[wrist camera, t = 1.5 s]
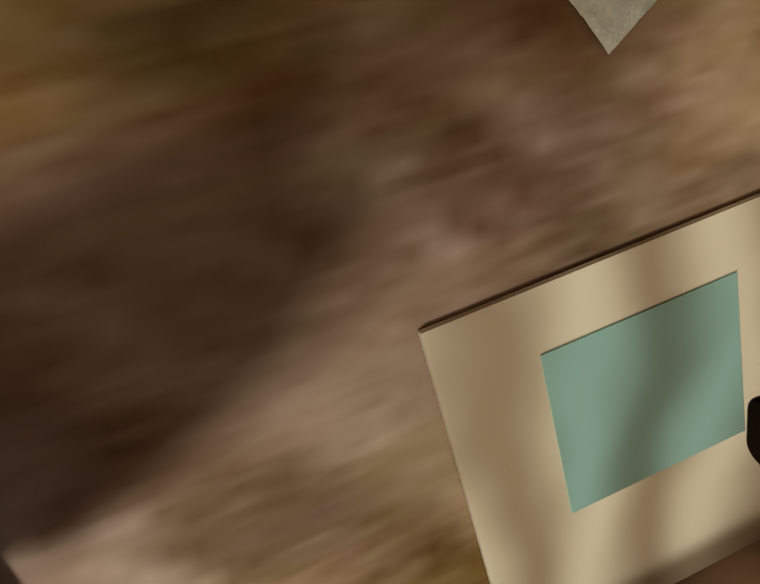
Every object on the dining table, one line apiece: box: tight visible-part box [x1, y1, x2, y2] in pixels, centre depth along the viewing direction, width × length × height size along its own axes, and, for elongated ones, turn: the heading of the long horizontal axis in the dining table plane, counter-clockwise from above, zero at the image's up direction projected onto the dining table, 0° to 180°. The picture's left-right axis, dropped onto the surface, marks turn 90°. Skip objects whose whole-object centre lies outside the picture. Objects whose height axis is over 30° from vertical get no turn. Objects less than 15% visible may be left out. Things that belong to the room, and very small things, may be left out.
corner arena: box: [418, 193, 760, 584], centre depth 25 cm, size 18×20×5 cm
